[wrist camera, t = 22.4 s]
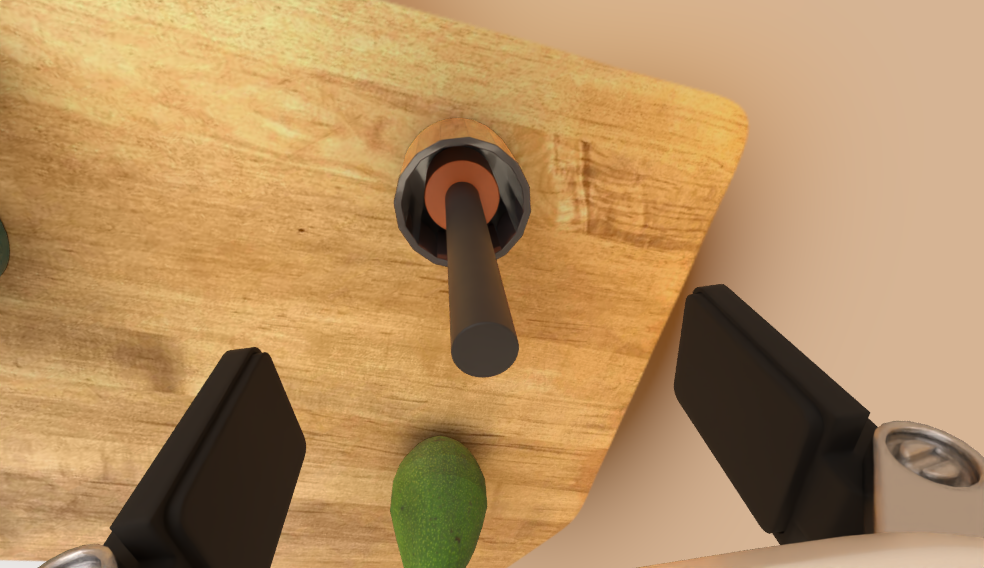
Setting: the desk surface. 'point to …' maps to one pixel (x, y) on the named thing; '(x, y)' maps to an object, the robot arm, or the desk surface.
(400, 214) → the holder
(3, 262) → the jar
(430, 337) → the desk surface
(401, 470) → the fruit
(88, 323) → the desk surface
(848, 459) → the robot arm
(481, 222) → the rod with orange collar
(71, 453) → the desk surface
